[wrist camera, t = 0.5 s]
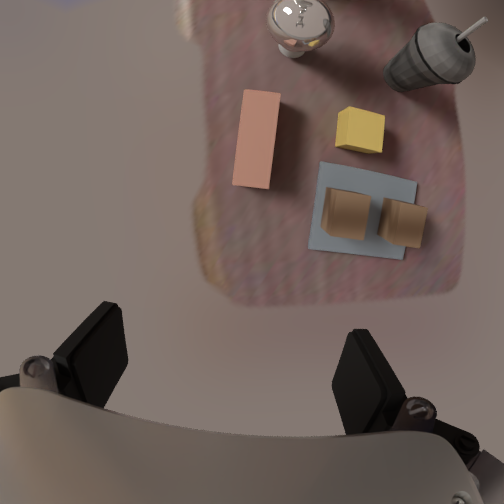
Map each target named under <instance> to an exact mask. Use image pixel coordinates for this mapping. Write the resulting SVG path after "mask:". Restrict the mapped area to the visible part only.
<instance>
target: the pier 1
mask: <svg viewBox="0 0 504 504" xmlns="http://www.w3.org/2000/svg"><path fill="white" fill-rule="evenodd" d="M370 202H371V196H369V195H365V194H362V193H358V192H353V191H348V190H342V189H336V188H330V187H326V191H325V198H324V205H323V212H322V219H321V225H320V227H321V228H322V229H323V230H324V231H325V232H326V233H328V234H329V235H330V236H333V237H341V238H349V239H357V240H364V236H365V231H366V225H367V220H368V214H369V208H370Z"/></svg>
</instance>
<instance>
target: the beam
mask: <svg viewBox="0 0 504 504" xmlns="http://www.w3.org/2000/svg"><path fill="white" fill-rule="evenodd" d="M280 95H281V93H274V92H266V91H258V90H248V89H244V95H243V102H242V109H241V117H240V125H239V132H238V140H237V148H236V156H235V165H234V173H233V182H232V185H238V186H247V187H255V188H263V189H269V183H270V175H271V167H272V159H273V151H274V144H275V136H276V128H277V120H278V111H279V103H280Z"/></svg>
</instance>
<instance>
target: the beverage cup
mask: <svg viewBox="0 0 504 504" xmlns="http://www.w3.org/2000/svg"><path fill="white" fill-rule="evenodd" d="M486 22H488V20H487V18H486V17H483V18H482V19H481V20H479V21H478V22H477V23H475V24H474V25H472V26H471V27H470V28H468V29H467V30H466V31H464V32H463V33H462V32H461V31H460V30H458V29H457V28H456V27H454V26H451V25H449V24H446V23H429V24H427V25H423V26H421V27H419V28H418V29H417V31H416V33H415V34H414V36H413V37H412V39H411V40H410V41H409V42H408V43H407V44H406V45H405V46H404V47H403V48H402V49H401V50H400V51H399V52H398V53H397V54H396V55H395V56H394V57H393V58H392V59H391V60H390V61H389V63H388V64H387V65H386V66H385V68H384V70H383V75H384V79H385V81H386V83H387V84H388V85H389V86H390V87H391V88H392V89H394V90H396V91H398V92H404V91H410V90H414V89H418V88H423V87H427V86H432V85H436V84H458V83H460V82H462V81H463V80H464V79H466V78H467V77H468V76H469V75H470V74H471V73H472V71H473V69H474V66H475V52H474V49H473V46H472V44H471V42H470V41H469V39H468V38H467V36H468V35H469V34H471V33H472V32H473V31H475V30H476V29H478V28H479V27H481V26H482V25H483V24H485V23H486Z"/></svg>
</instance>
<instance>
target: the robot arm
mask: <svg viewBox="0 0 504 504" xmlns="http://www.w3.org/2000/svg"><path fill="white" fill-rule="evenodd" d="M53 355H54V357H53V358H52V359H51V360H50V359H49V358H47V357H45V356H32V357H29V358H27V359H26V360H25V361H23V362H22V364H21V365H20V370H19V372H20V374H15V375H10V376H5V377H0V504H504V463H502V462H501V461H500V460H498V459H497V458H495V457H494V456H493V455H491V454H490V453H488V452H487V451H486V450H482V451H479V442H478V440H477V439H476V437H475V436H474V435H473V434H471V433H469V432H466V431H464V430H461V429H459V428H457V427H454V426H451V425H449V424H447V423H445V422H442V421H440V420H438V419H436V416H437V411H436V408H435V406H434V405H433V404H432V403H431V402H430V401H429V400H427V399H425V398H422V397H410V398H407V397H406V395H405V390H404V388H403V387H402V385H401V383H400V382H399V380H398V378H397V377H396V375H395V373H394V371H393V370H392V368H391V366H390V365H389V363H388V361H387V360H386V358H385V357H384V355H383V353H382V352H381V350H380V348H379V347H378V345H377V344H376V342H375V340H374V339H373V337H372V336H371V334H370V333H369V331H368V330H367V329H354V330H353V331H352V332H349V333H348V336H347V339H346V342H345V345H344V348H343V351H342V354H341V357H340V360H339V364H338V366H337V369H336V372H335V375H334V378H333V381H332V390H333V393H334V396H335V399H336V403H337V406H338V409H339V413H340V416H341V419H342V422H343V426H344V429H345V433H346V435H338V436H337V435H335V436H314V437H313V436H311V437H280V436H255V435H242V434H231V433H221V432H212V431H205V430H198V429H192V428H185V427H180V426H174V425H169V424H164V423H159V422H154V421H150V420H145V419H141V418H137V417H133V416H129V415H125V414H122V413H118V412H115V411H111V410H108V409H104V406H105V404H106V403H107V401H108V399H109V397H110V395H111V394H112V392H113V390H114V388H115V386H116V384H117V383H118V381H119V379H120V377H121V376H122V374H123V372H124V370H125V369H126V367H127V364H128V354H127V348H126V341H125V334H124V326H123V318H122V310H121V308H120V307H118V305H117V304H116V303H112V302H107V301H104V302H102V303H101V304H100V305H99V306H98V307H97V308H96V309H95V310H94V311H93V312H92V313H91V314H90V315H89V316H88V317H87V318H86V319H85V320H84V321H83V322H82V323H81V325H80V326H79V327H78V328H77V329H76V330H75V331H74V332H73V333H72V334H71V335H70V336H69V337H68V338H67V339H66V340H65V341H64V342H63V343H62V345H61V346H60V347H59V348H58V349H57V350H56V351H55V352H54V353H53Z"/></svg>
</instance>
